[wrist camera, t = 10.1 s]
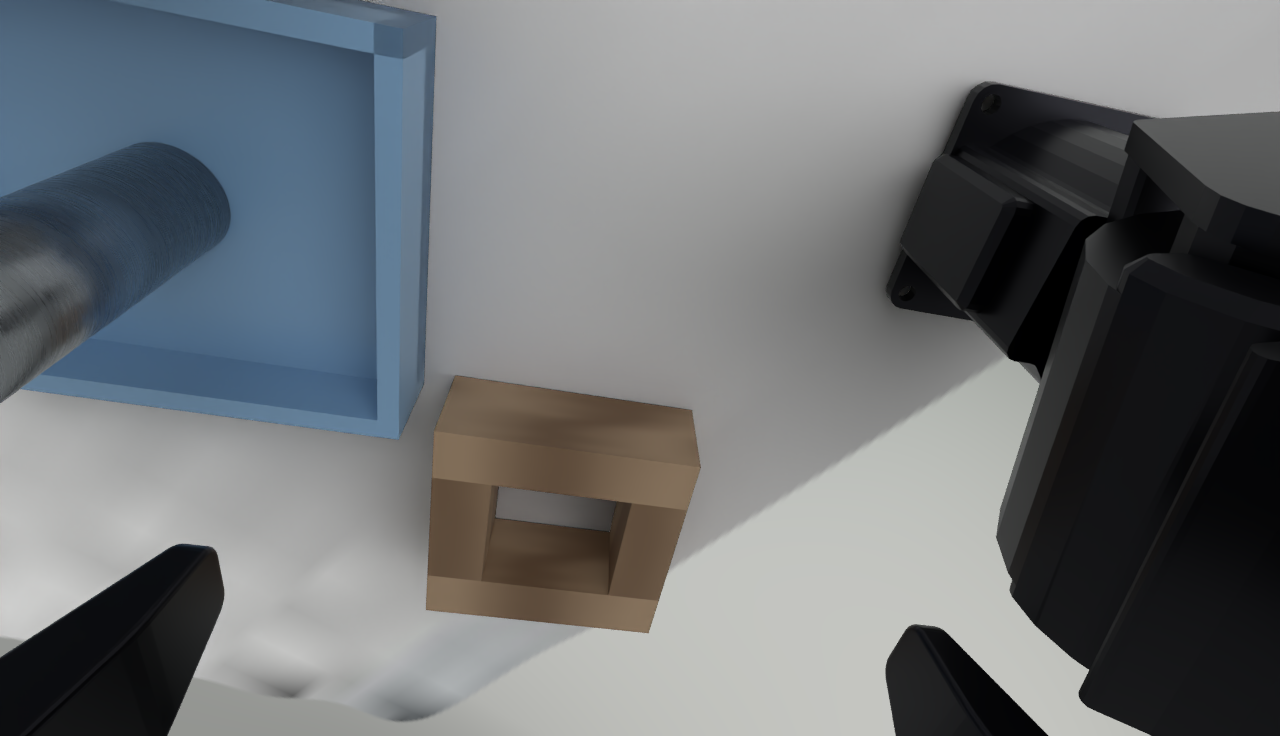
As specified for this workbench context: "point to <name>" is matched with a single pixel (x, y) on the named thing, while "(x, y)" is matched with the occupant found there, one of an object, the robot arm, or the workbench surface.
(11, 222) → the pin
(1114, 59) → the workbench surface
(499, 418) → the hole block
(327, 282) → the tray
